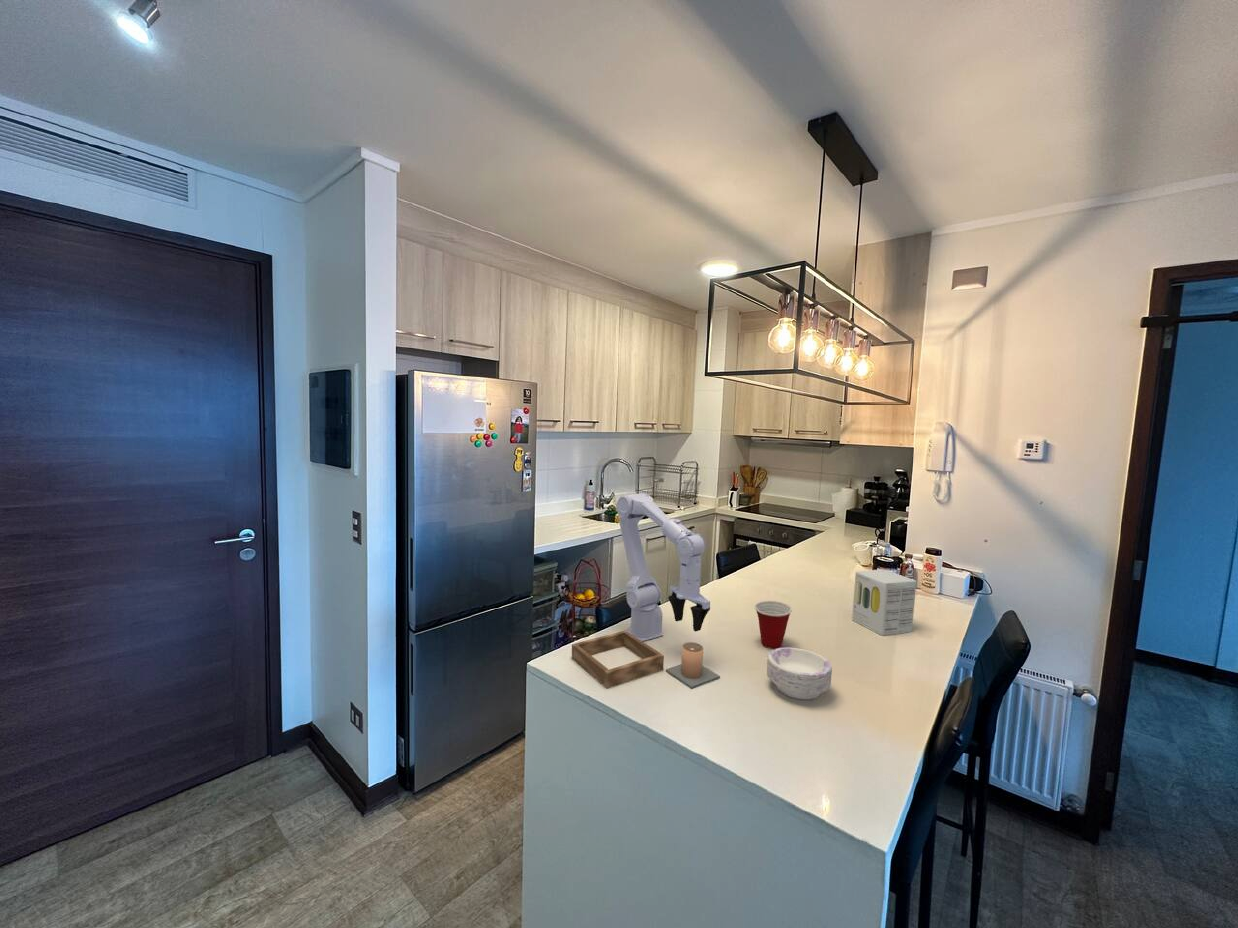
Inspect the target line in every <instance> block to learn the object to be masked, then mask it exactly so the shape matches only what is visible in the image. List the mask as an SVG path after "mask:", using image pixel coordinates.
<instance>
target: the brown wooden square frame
mask: <svg viewBox="0 0 1238 928" xmlns="http://www.w3.org/2000/svg"><path fill="white" fill-rule="evenodd" d="M621 647H625V648H626V649H627V650H628V651H630V652H632V653H633V654H635V655H636V656H637V657H639V658H640V659H639V660H635V661H633V662H629V663H626V664H623V665H619V666H617V667H613V668H608V667H606V666H605V665H603V664H602V663H601V662H600V661H599V660H597V659H596V658H595V657H594V656H593V655H596V654H599V653H603V652H607V651H611V650H614V649H617V648H621ZM664 657H665V655H664V654H662V653H661V652H660V651H658V650H657V649H656V648H655V649H654V648H653V647H652V646H651V645H649V644H647V643H646V642H645V641H641V640H639V639H638V638H636V637H635V636H633V635H632V634H630V633H628V632H627V630H622V631H617V632H614V633H610V634H606V635H602V636H599V637H594V638H592V639H591V638H590V639H587V640H586V639H585V640H584V641H579V642H576V643H572V644H571V659H572V660H573V661H574V662H576V663H577V664H578V665H579V666H580V667H581V668H582V669H584V670H585V671H586V672H587V673H588V674H589V675H590V676H591V677H593V678H594V679H595V680H596V679H597V680H598V682H599V684H601V685H602V684H603V685H604V686H605V687H604V686H603V685H602V686H603V687H604V688H605V689H609V687H610V688H612V686H613V687H616V686H619V685H622V684H625V683H628V682H630V680H631V681H634V680H637V679H641V678H643V677H646V676H648V675H651V674H654V673H657V672H661V671H664V664H665V663H664V662H665V661H664V660H665V658H664ZM597 680H596V681H597ZM618 684H619V685H618ZM615 685H616V686H615Z"/></svg>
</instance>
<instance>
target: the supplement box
mask: <svg viewBox="0 0 1238 928" xmlns="http://www.w3.org/2000/svg"><path fill="white" fill-rule="evenodd" d="M853 590H854V591H853V604H852V615H851V616H852V617H851V621H853V620H854V621H853V622H854V623H856V622H857V623H856V624H858V623H859V624H858V625H860V624H861V625H860V626H862V625H863V626H862V627H864V628H866V629H868V630H870V631H873V632H874V633H876V634H878V635H880V636H891V635H898V634H899V635H900V634H906V633H912V632H913V623H914V611H915V599H916V591H917V580H915V579H913V578H909V577H907V576H904V575H901V574H898V573H895V572H892V571H890V570H887V569H883V568H881V569H870V570H859V571H855V576H854V589H853Z"/></svg>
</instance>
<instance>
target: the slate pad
mask: <svg viewBox="0 0 1238 928" xmlns="http://www.w3.org/2000/svg"><path fill="white" fill-rule="evenodd" d="M665 673H668V674H669V675H670V676H671V677H673V678H675V679H676V680H677V681H679V682H681V684H683V685H685V686H687V688H689V689H691V690H693V689H696V688H698V687H700V686H704V685H706V684H710V683H711V682H713V681H717V680H719V679H721V676H720V674H718V673H716V672H714V671H713V670H711V669H709V668H707V667H706V666H705V665H702V676H701V677H699V678H695V679H693V678H687V677H685V676H683V675H682V674H681V664H677V665H674V666H672V667H669V668H666V669H665Z"/></svg>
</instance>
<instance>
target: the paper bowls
mask: <svg viewBox="0 0 1238 928" xmlns="http://www.w3.org/2000/svg"><path fill="white" fill-rule="evenodd" d="M766 659H767V662H766V675H767V678H769V680H770V681H771V682H773V684H775V686H776V688H777V689H778V690H779V691H780V692H781V693H782V694H784V695H786V696H789V697H790V698H795V699H798V700H805V701H806V700H813V699H816V698H817V697H818V696H819V695H820V694H822V693H825V692H827V691H829V690H830V688H831V685H832V676H833V675H832V673H833V666H832V664H831V663H830V661H829V660H828V659H827V658H826V657H825V656H823V655H820V654H819V653H817V652H814V651H811V650H808V649H803V648H799V647H789V646H788V647H780V648H778V649H771V651H769V652H768V654H767V658H766ZM819 697H820V696H819Z"/></svg>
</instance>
